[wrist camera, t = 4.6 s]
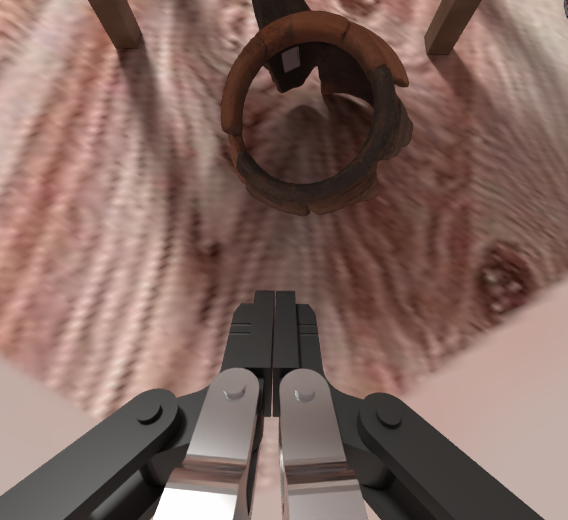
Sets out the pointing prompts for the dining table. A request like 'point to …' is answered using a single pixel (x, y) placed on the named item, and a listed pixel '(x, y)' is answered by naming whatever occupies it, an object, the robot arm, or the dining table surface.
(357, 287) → the dining table surface
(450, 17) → the wooden side table
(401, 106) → the pottery mug
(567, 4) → the dark blue cylinder
